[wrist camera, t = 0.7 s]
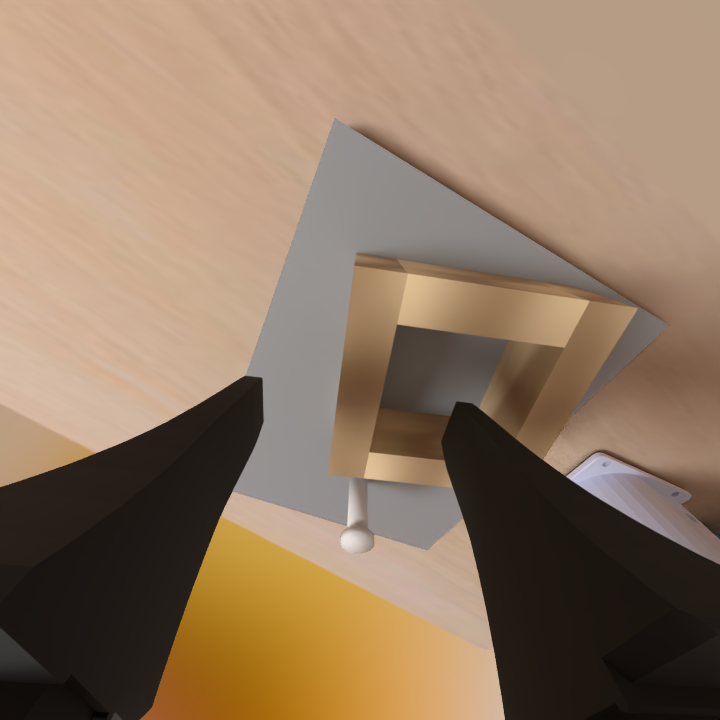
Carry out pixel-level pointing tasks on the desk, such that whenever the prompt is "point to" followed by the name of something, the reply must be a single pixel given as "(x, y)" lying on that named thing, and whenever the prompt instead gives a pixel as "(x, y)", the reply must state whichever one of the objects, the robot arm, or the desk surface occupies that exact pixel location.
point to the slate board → (411, 344)
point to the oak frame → (474, 317)
